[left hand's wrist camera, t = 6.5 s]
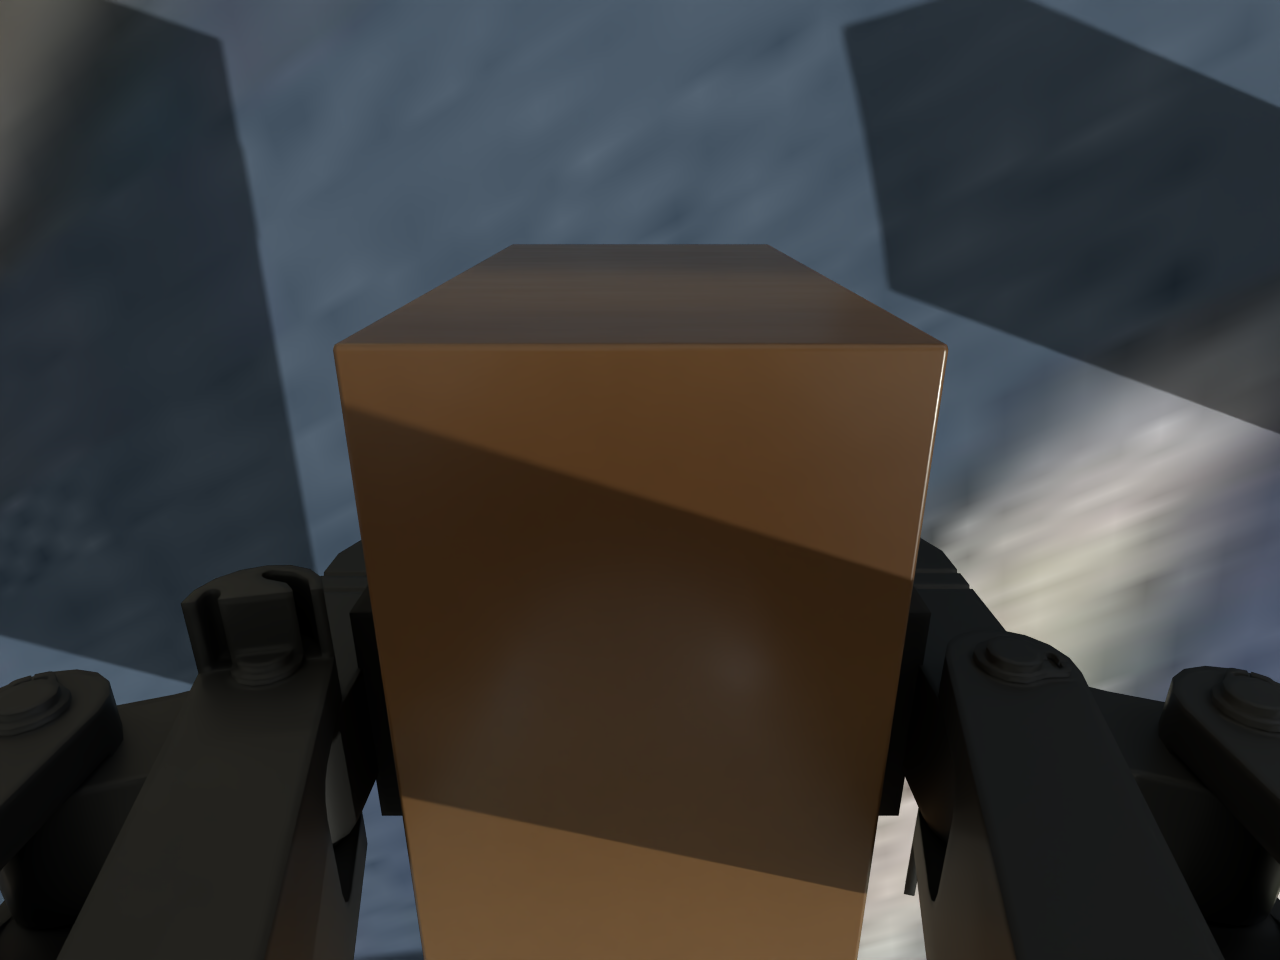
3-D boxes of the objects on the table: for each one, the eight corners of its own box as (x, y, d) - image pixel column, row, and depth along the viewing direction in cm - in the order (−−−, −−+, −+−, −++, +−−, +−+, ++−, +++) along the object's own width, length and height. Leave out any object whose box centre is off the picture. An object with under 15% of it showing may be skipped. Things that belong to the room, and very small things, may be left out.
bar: (510, 243, 13) (328, 343, 6) (769, 244, 13) (952, 344, 6) (560, 1082, 22) (516, 1588, 14) (719, 1082, 22) (763, 1588, 14)
